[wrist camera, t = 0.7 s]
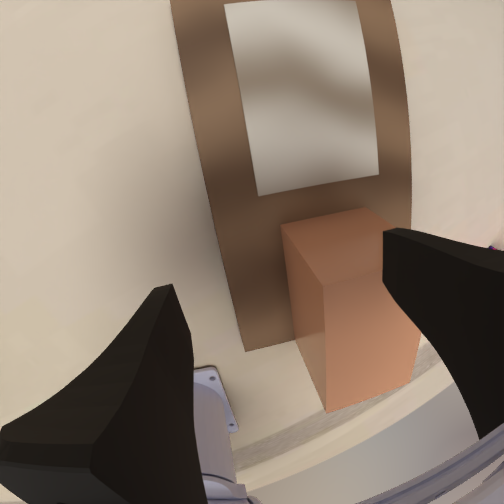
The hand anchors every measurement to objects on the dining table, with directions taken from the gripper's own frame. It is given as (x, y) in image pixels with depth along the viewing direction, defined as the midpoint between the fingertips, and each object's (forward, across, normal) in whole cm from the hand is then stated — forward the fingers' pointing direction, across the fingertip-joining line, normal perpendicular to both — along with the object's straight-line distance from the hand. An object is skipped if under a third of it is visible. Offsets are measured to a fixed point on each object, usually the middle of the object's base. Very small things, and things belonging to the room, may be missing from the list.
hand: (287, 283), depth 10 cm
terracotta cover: (+9, -4, +6) cm, 11 cm away
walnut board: (+10, -4, -1) cm, 11 cm away
